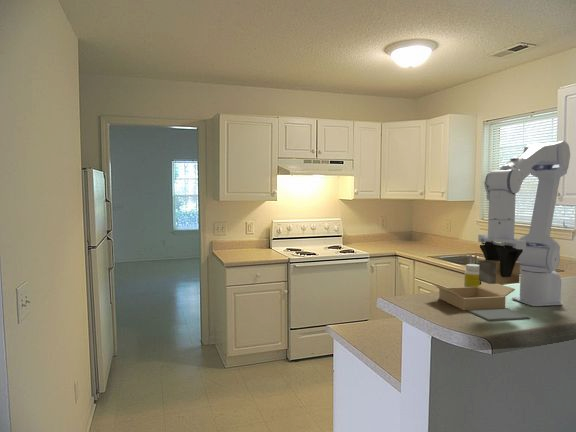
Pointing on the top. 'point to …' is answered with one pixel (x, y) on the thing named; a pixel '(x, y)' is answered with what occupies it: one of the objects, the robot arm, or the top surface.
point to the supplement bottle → (471, 276)
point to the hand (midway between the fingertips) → (499, 275)
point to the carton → (484, 293)
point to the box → (496, 272)
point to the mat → (498, 314)
